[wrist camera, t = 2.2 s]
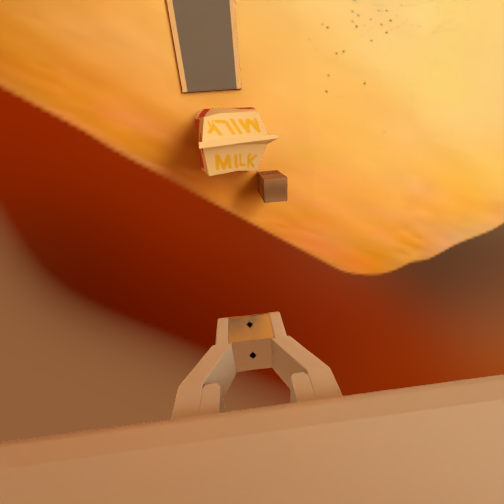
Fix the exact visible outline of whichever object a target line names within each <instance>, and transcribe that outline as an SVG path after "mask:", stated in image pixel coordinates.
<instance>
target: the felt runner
mask: <svg viewBox="0 0 504 504" xmlns="http://www.w3.org/2000/svg"><path fill="white" fill-rule="evenodd" d="M167 5H168V11H169V17H170V23H171V28H172V34H173V40H174V45H175V51H176V57H177V62H178V68H179V74H180V80H181V85H182V91H183V93H189V92H203V91H218V90H233V89H241V77H240V64H239V50H238V37H237V23H236V10H235V0H167Z"/></svg>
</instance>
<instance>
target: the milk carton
mask: <svg viewBox="0 0 504 504" xmlns="http://www.w3.org/2000/svg"><path fill="white" fill-rule="evenodd" d="M195 120H196V127H197V133H198V139H199V149H200V159H201V169H202V171H204V172H205V173H206V174H207V175H208V176H213V175H218V174H223V173H229V172H234V171H257V170H258V167H259V165H260V162H261V159H262V156H263V154H264V151H265V148H266V145H267V144H268V143H270V142H272V141H274V140H275V139H277V138H278V135H268V133H267V130H266V128H265V126H264V124H263V122H262V119H261V117H260V115H259V113H258V111H257V110H256V109H255V108H252V107H247V108H212V109H202V110H201V111H200V112H199V113H198V114H197V115H196V118H195Z"/></svg>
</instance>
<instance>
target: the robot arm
mask: <svg viewBox="0 0 504 504" xmlns="http://www.w3.org/2000/svg"><path fill="white" fill-rule="evenodd" d="M263 368H273V369H274V370H275V372H276V373H277V374H278V375H279V377H280V378H281V379H282V380H283V381H284V382H285V384H286V385H287V386H288V387H289V388H290V390H291V403H288V404H281V405H274V406H266V407H259V408H251V409H244V410H236V411H229V412H225V407H224V402H223V398H224V396H225V394H226V392H227V390H228V388H229V386H230V384H231V382H232V380H233V378H234V377H235V375H236V372H240V371H247V370H253V369H263ZM0 504H504V375H497V376H490V377H482V378H475V379H467V380H460V381H452V382H445V383H437V384H430V385H422V386H415V387H408V388H400V389H392V390H385V391H377V392H370V393H362V394H355V395H348V396H342V394H341V392H340V389H339V387H338V385H337V382H336V380H335V378H334V376H333V373H332V371H331V369H330V368H329V367H328V366H327V365H326V364H324V363H323V362H322V361H321V360H319V359H318V358H317V357H316V356H314V355H313V354H312V353H310V352H309V351H308V350H307V349H305V348H304V347H303V346H301V345H300V344H299V343H298V342H297V341H295V340H294V339H293V338H292V337H290V336H287V335H286V332H285V329H284V325H283V322H282V319H281V316H280V313H279V312H272V313H265V314H257V315H249V316H238V317H229V318H220V319H218V323H217V336H216V345H213V346H212V347H211V348H210V349H209V350H208V352H207V353H206V354H205V355H204V356H203V358H202V359H201V360H200V361H199V363H198V364H197V365H196V366H195V368H194V369H193V370H192V371H191V372H190V374H189V375H188V376H187V377H186V378H185V380H184V381H183V382H182V383H181V385H180V386H179V387H178V392H177V396H176V400H175V405H174V409H173V414H172V418H171V419H169V420H161V421H154V422H146V423H139V424H132V425H125V426H117V427H109V428H102V429H95V430H87V431H79V432H72V433H65V434H57V435H50V436H42V437H35V438H27V439H20V440H13V441H5V442H0Z"/></svg>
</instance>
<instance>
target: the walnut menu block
mask: <svg viewBox="0 0 504 504" xmlns="http://www.w3.org/2000/svg"><path fill="white" fill-rule="evenodd" d="M258 185H259V193H260V195H261V197H262V199H263V200H264V202H265V203H269V202H280V201H287V177H286V176H285V175H283V174H282V173H280V172H279V171H277V170H276V171H264V172H258Z"/></svg>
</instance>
